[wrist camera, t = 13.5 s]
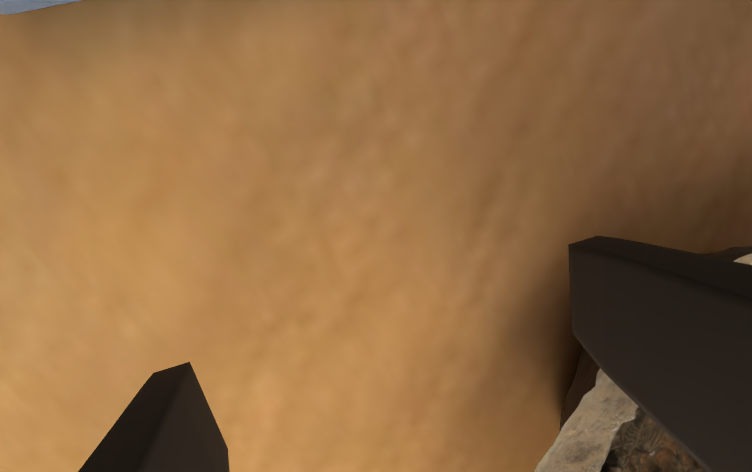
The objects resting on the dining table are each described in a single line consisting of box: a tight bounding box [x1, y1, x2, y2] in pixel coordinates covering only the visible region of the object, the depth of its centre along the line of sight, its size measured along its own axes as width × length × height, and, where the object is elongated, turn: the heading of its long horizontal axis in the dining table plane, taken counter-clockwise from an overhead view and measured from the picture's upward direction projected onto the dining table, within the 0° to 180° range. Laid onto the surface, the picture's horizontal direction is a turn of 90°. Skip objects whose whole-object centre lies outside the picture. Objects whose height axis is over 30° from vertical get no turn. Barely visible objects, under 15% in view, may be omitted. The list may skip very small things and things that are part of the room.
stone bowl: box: [534, 246, 752, 472], centre depth 24 cm, size 25×25×9 cm
